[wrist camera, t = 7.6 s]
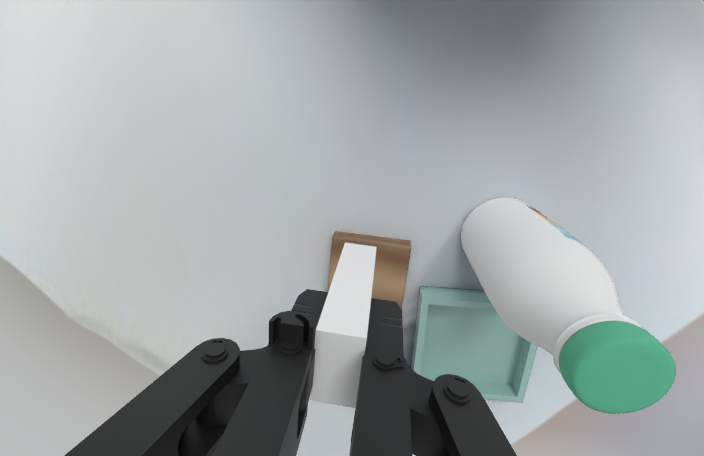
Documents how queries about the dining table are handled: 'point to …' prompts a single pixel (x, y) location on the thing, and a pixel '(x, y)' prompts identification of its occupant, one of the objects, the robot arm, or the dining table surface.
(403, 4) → the dining table surface
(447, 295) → the tray
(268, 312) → the dining table surface
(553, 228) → the milk bottle
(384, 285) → the tan wooden board
